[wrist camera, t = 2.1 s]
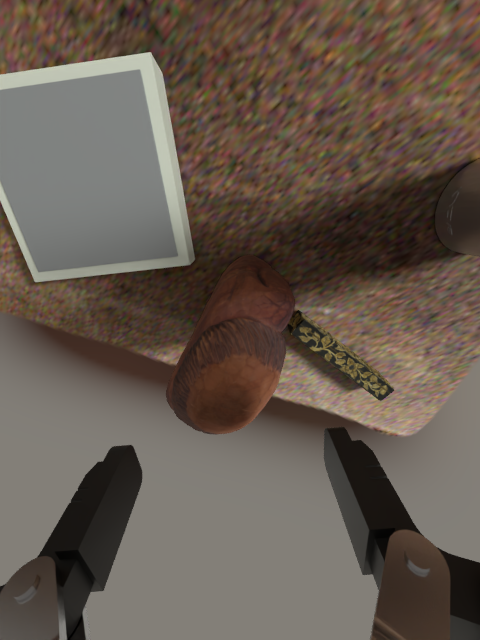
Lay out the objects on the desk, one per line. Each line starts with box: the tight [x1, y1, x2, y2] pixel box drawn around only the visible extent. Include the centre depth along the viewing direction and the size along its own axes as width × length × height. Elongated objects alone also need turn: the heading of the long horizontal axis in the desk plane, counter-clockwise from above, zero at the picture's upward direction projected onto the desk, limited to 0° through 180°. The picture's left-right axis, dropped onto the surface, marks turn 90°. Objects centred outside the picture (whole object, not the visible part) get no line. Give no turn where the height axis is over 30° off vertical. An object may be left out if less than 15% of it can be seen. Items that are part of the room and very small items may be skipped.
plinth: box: [0, 52, 195, 282], centre depth 24 cm, size 16×16×4 cm
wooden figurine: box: [166, 255, 295, 434], centre depth 22 cm, size 12×6×18 cm, turn 150°
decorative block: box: [287, 310, 394, 401], centre depth 31 cm, size 15×2×4 cm, turn 52°
